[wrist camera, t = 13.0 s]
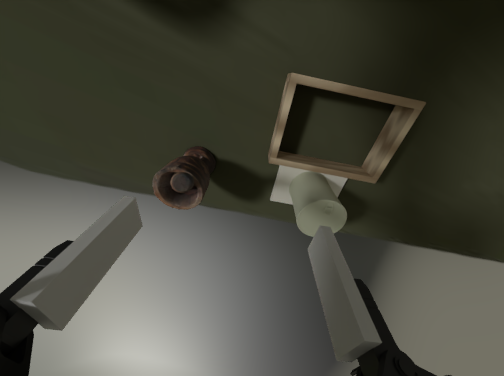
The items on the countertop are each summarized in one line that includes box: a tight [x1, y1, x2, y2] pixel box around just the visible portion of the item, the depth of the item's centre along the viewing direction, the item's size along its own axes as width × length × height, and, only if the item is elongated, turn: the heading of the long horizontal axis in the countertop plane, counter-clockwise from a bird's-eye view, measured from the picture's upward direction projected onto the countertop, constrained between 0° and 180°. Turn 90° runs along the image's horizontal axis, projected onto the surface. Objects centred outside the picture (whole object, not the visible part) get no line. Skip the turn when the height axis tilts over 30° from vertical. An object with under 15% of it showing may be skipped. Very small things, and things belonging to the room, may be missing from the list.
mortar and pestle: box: [153, 146, 216, 209], centre depth 32 cm, size 12×9×20 cm
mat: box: [270, 165, 348, 204], centre depth 43 cm, size 11×16×1 cm
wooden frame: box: [268, 73, 427, 183], centre depth 34 cm, size 15×22×5 cm
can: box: [289, 171, 347, 237], centre depth 38 cm, size 9×9×12 cm
